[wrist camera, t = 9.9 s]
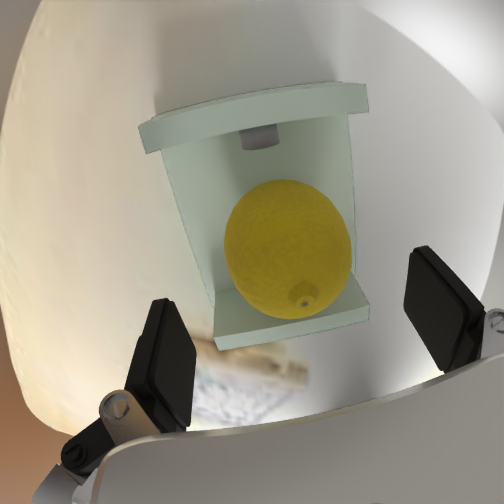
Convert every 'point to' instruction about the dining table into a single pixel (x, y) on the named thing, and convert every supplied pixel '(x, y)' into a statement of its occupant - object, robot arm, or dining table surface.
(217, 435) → the robot arm
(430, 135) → the dining table surface
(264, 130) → the holder
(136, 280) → the dining table surface
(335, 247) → the lemon
